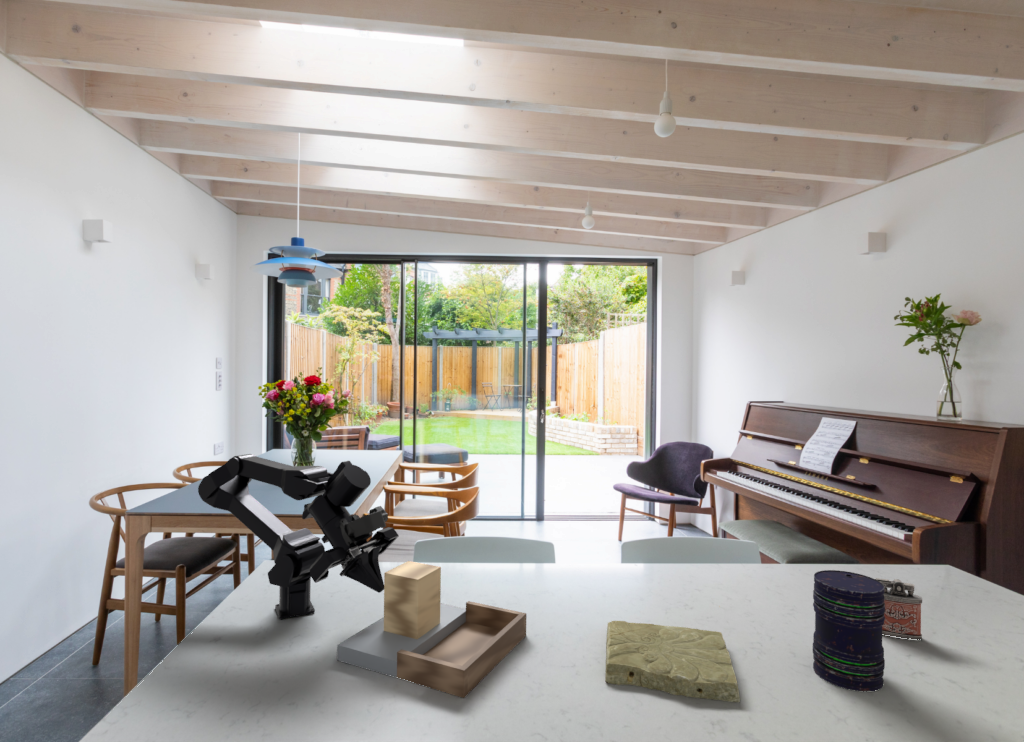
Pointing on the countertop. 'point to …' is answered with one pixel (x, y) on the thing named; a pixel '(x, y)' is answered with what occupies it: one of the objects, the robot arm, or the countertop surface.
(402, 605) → the block
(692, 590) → the countertop surface
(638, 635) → the decorative tile
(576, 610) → the countertop surface
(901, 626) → the lighter
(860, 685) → the dark blue barrel
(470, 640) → the bin
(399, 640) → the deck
